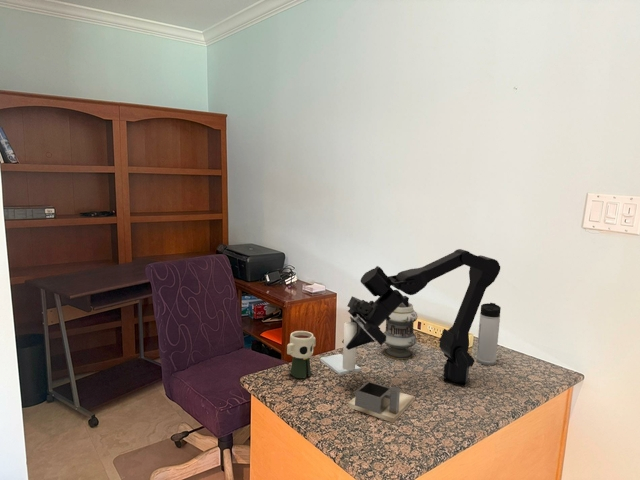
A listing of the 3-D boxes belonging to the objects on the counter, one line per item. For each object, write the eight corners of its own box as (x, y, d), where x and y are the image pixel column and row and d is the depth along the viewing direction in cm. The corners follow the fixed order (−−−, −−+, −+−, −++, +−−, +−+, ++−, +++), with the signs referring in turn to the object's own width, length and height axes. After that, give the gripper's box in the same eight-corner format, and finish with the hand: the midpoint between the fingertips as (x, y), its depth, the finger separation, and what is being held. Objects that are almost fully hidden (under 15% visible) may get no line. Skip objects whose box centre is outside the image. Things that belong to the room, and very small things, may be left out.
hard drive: (320, 357, 148) (339, 372, 137) (341, 353, 152) (361, 367, 141) (319, 362, 148) (339, 377, 137) (340, 358, 152) (361, 372, 141)
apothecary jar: (381, 345, 163) (384, 298, 161) (415, 349, 161) (418, 301, 158) (379, 358, 151) (382, 307, 149) (415, 362, 149) (419, 310, 146)
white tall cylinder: (357, 367, 128) (359, 323, 126) (351, 371, 125) (353, 326, 123) (346, 364, 130) (348, 321, 128) (340, 368, 127) (342, 324, 125)
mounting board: (413, 400, 123) (414, 396, 122) (393, 422, 111) (393, 418, 111) (371, 387, 130) (371, 383, 129) (347, 407, 118) (347, 402, 118)
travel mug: (497, 361, 153) (502, 304, 150) (493, 367, 147) (498, 308, 144) (478, 356, 156) (483, 301, 153) (474, 362, 150) (479, 305, 148)
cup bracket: (402, 407, 116) (404, 384, 116) (391, 418, 110) (392, 395, 110) (367, 395, 122) (368, 373, 121) (354, 406, 116) (356, 383, 115)
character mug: (294, 384, 130) (295, 342, 128) (279, 376, 135) (280, 335, 133) (321, 374, 137) (323, 334, 135) (306, 367, 142) (307, 327, 140)
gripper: (355, 280, 134) (318, 317, 133) (377, 296, 116) (334, 339, 115) (379, 304, 137) (343, 341, 136) (403, 324, 119) (362, 366, 118)
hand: (345, 345), depth 126 cm, fingers closed on white tall cylinder, 4 cm apart
